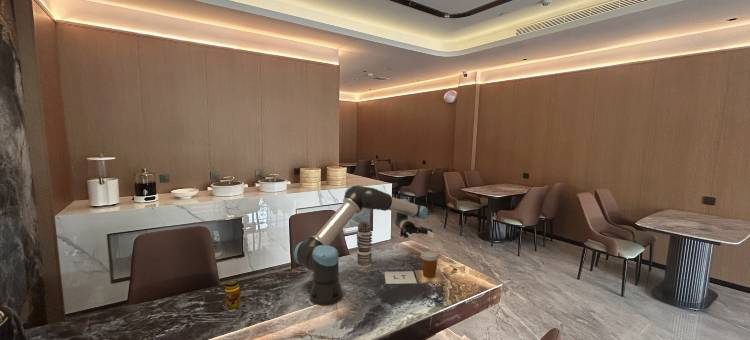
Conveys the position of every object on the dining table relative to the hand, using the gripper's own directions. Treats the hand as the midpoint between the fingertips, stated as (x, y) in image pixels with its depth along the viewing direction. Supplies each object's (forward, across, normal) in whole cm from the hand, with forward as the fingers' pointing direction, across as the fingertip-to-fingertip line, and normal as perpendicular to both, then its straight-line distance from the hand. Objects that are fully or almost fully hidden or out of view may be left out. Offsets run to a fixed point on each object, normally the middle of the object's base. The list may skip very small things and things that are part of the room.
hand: (422, 237), depth 177 cm
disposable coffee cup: (+10, 0, -18) cm, 21 cm away
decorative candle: (-17, +29, -20) cm, 39 cm away
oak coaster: (+10, 0, -19) cm, 21 cm away
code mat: (+6, +15, -19) cm, 25 cm away
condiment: (+10, +97, -21) cm, 100 cm away
